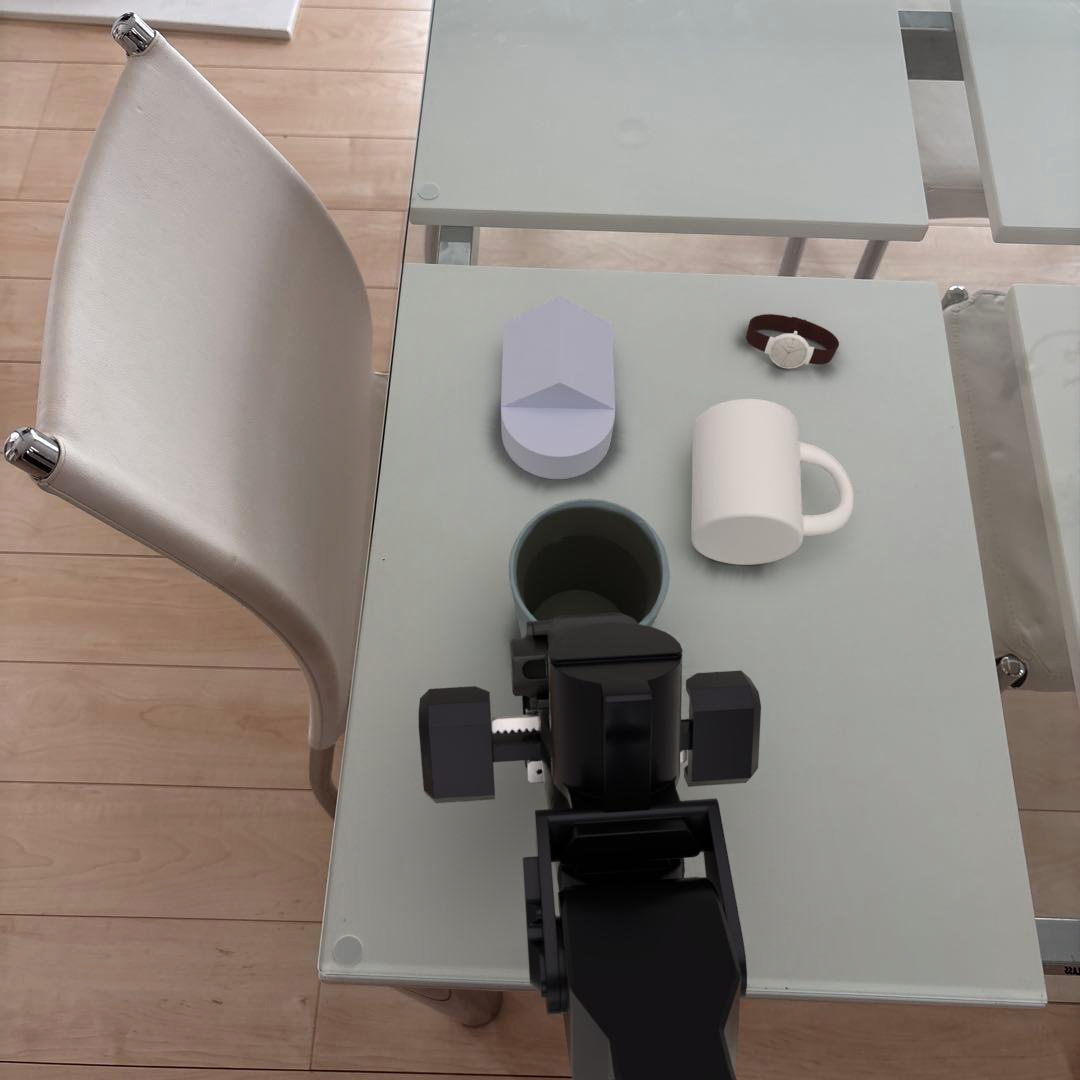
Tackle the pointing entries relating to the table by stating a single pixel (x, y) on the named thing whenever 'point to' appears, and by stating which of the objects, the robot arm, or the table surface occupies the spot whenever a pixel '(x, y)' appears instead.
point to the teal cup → (588, 564)
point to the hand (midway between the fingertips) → (574, 670)
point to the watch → (791, 340)
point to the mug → (756, 484)
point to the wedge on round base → (557, 389)
